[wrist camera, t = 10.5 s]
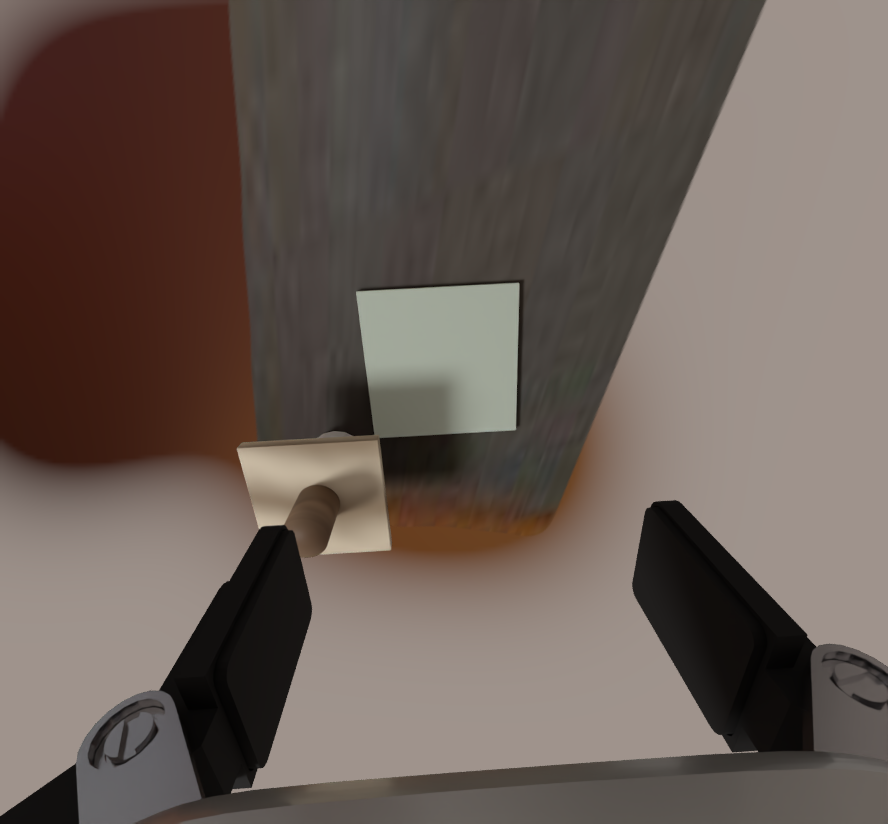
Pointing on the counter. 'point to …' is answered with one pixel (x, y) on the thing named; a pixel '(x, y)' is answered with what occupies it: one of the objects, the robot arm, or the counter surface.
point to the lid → (320, 491)
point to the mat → (441, 358)
